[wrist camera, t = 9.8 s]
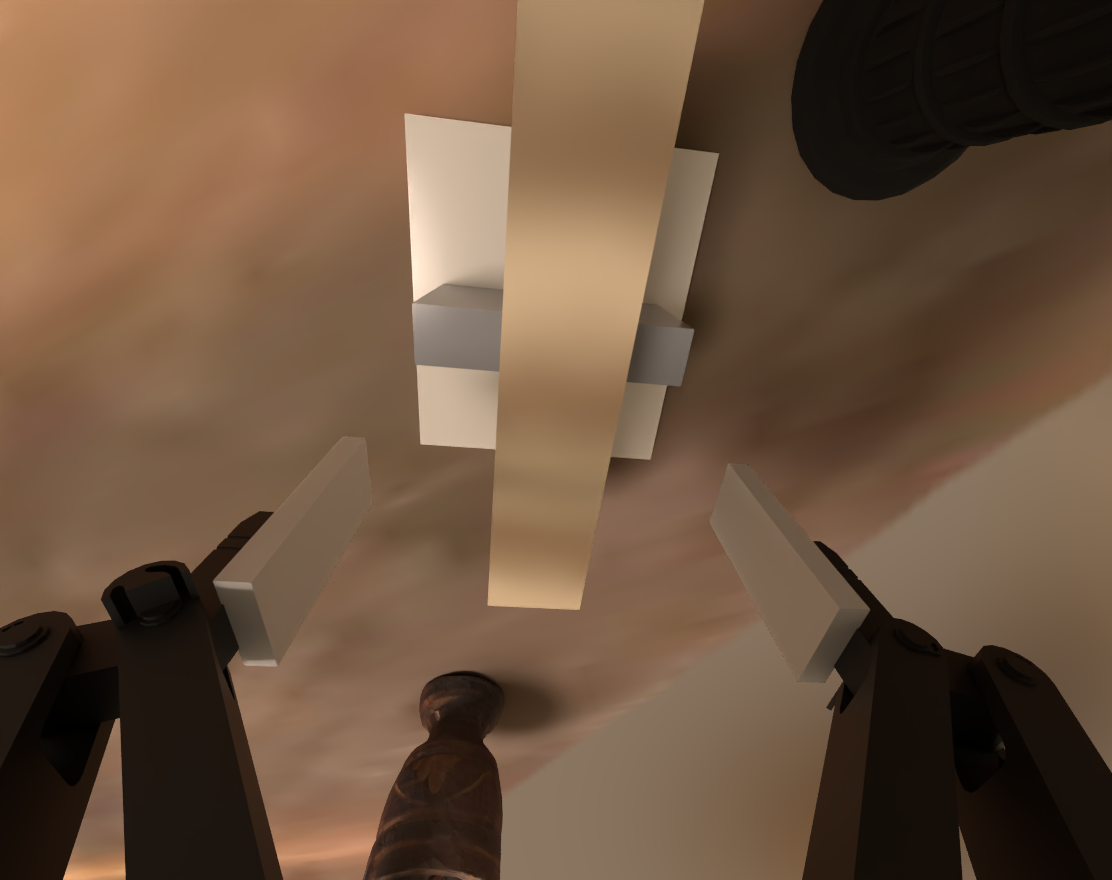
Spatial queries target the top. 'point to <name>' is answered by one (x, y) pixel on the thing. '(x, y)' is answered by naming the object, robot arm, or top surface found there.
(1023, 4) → the handle grip
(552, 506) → the maple bar
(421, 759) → the mortar and pestle
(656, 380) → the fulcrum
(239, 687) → the top surface
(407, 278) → the top surface
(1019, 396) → the top surface
